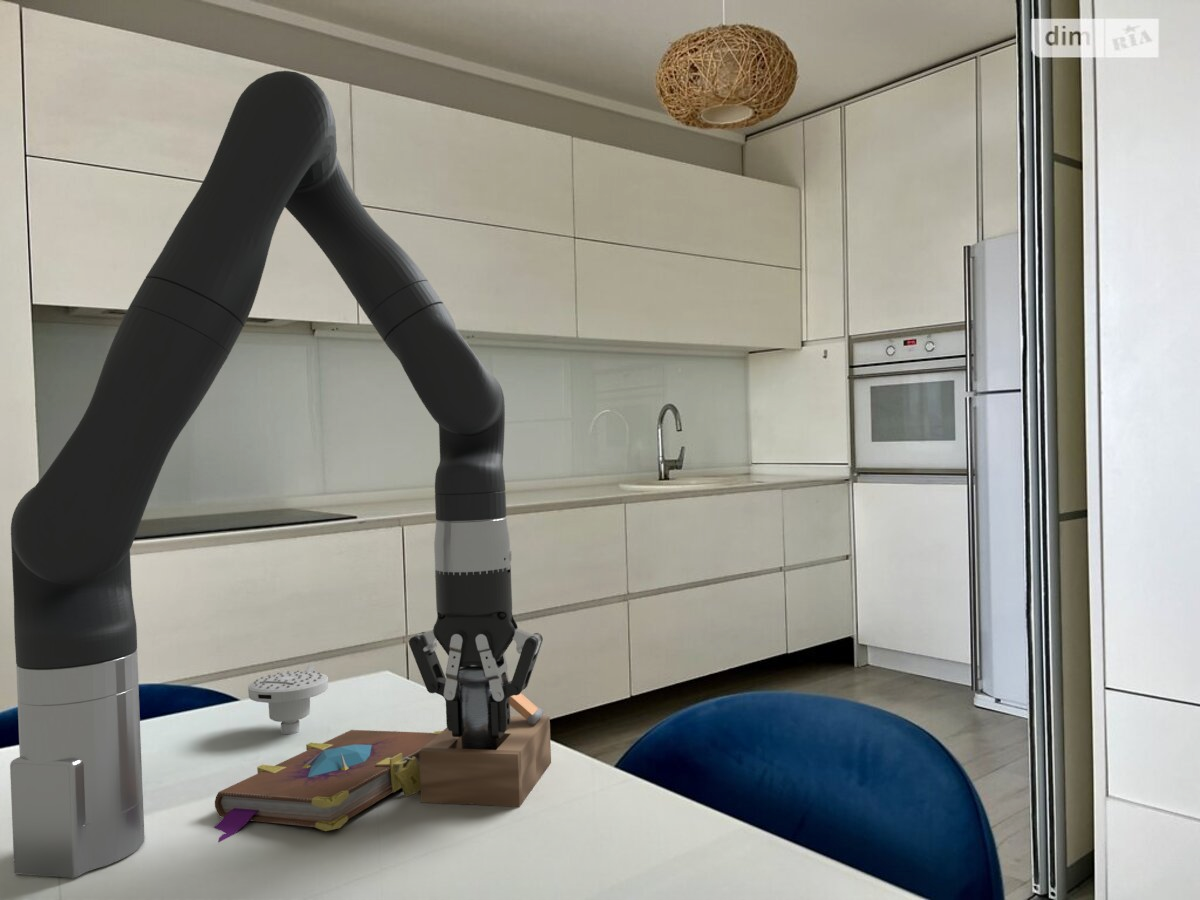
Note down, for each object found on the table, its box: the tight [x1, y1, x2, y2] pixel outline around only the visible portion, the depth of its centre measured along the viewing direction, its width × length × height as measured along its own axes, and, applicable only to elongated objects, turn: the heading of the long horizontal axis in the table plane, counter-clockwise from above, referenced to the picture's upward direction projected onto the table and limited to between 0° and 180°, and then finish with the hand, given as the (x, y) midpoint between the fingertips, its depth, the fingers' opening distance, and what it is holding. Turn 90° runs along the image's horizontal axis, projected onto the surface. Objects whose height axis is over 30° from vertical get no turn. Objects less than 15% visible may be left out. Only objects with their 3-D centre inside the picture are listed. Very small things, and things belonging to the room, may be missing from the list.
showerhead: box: [247, 663, 329, 735], centre depth 113 cm, size 9×7×10 cm
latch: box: [510, 692, 544, 725], centre depth 97 cm, size 3×9×1 cm
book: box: [213, 729, 443, 843], centre depth 91 cm, size 16×25×5 cm, turn 157°
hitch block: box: [419, 715, 552, 807], centre depth 93 cm, size 12×10×5 cm
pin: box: [457, 664, 498, 750], centre depth 90 cm, size 4×4×9 cm
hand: (479, 734), depth 90 cm, fingers closed on pin, 3 cm apart
